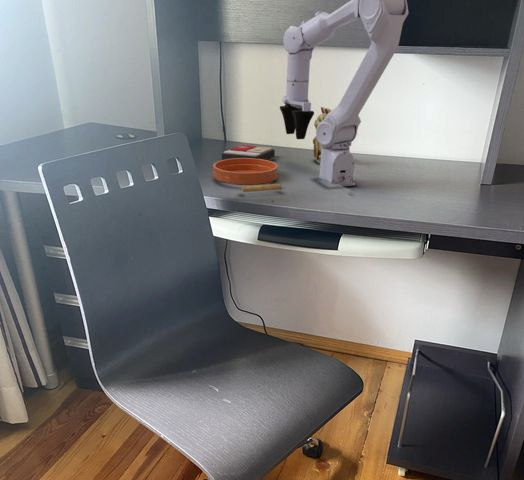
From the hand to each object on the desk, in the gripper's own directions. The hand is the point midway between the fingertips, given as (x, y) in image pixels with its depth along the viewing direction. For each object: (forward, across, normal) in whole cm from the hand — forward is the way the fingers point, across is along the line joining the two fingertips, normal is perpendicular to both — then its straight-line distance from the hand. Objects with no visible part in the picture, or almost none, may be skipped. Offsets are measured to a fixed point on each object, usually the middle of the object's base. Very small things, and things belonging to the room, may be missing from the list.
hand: (295, 136), depth 146 cm
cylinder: (+9, +19, -16) cm, 27 cm away
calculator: (+10, -13, -9) cm, 19 cm away
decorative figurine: (+2, -9, +14) cm, 17 cm away
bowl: (+9, +6, -16) cm, 20 cm away
